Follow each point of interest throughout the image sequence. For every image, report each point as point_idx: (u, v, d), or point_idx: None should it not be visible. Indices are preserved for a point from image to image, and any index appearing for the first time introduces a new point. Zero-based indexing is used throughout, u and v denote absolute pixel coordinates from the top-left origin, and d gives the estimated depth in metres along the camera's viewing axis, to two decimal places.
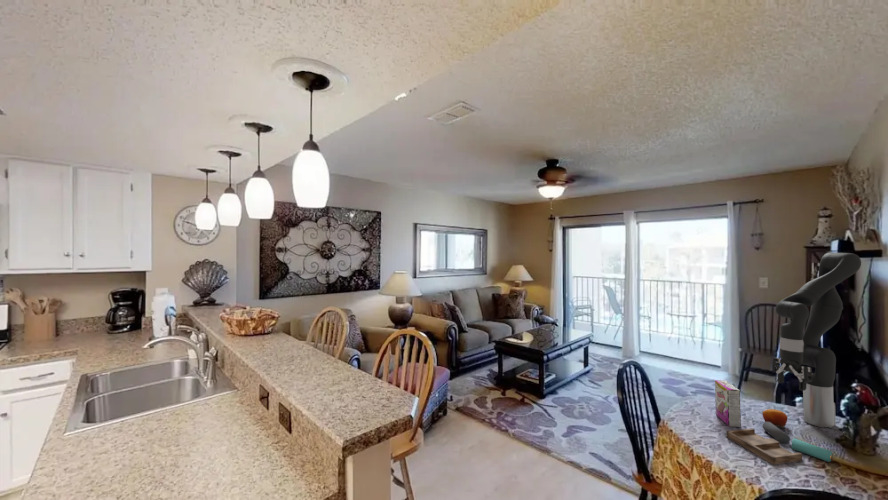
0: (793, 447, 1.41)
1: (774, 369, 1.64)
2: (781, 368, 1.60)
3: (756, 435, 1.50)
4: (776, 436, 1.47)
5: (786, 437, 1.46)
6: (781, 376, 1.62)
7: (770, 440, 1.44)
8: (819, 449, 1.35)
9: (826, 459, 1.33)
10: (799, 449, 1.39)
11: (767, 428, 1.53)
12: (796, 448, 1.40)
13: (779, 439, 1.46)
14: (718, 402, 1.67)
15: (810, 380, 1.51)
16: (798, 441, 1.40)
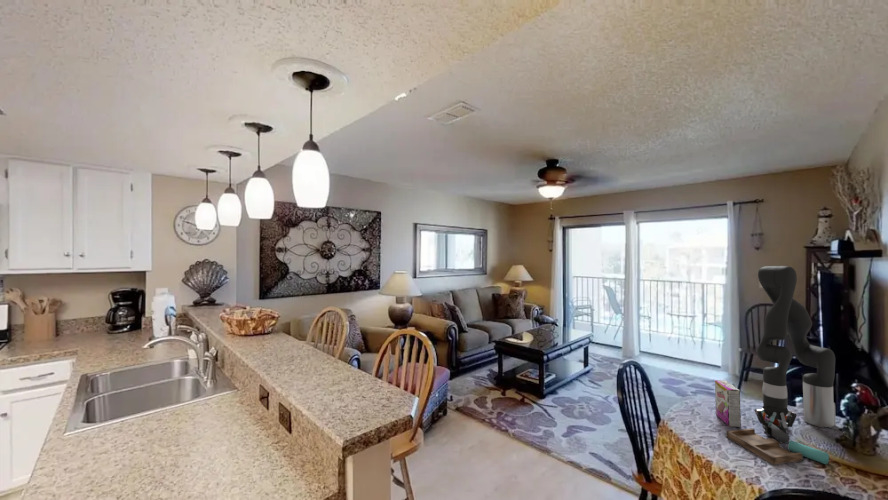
0: None
1: None
2: None
3: (756, 435, 1.50)
4: (776, 436, 1.47)
5: (786, 436, 1.46)
6: (780, 428, 1.50)
7: (770, 440, 1.44)
8: (815, 458, 1.33)
9: None
10: None
11: None
12: None
13: (779, 439, 1.46)
14: (718, 402, 1.67)
15: (761, 422, 1.51)
16: (793, 450, 1.39)
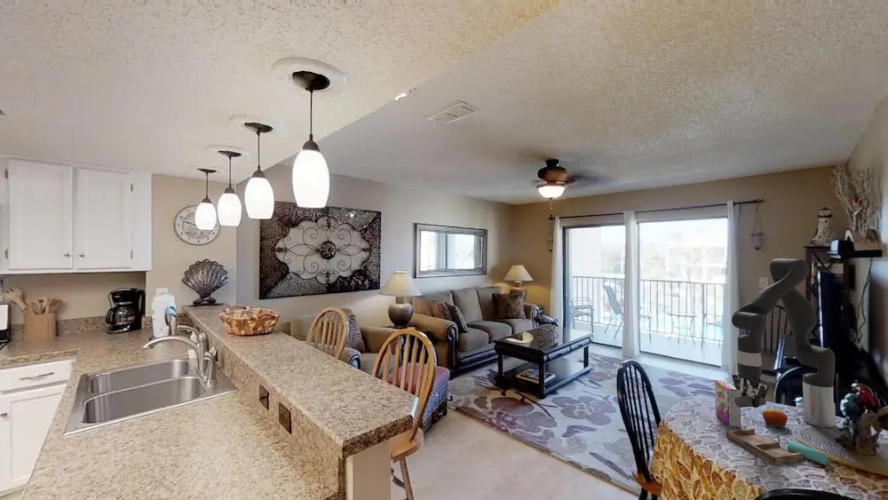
0: None
1: None
2: None
3: (756, 435, 1.50)
4: None
5: (740, 401, 1.46)
6: None
7: (770, 440, 1.44)
8: (815, 460, 1.33)
9: None
10: None
11: None
12: None
13: (735, 401, 1.49)
14: (718, 402, 1.67)
15: None
16: (793, 452, 1.38)
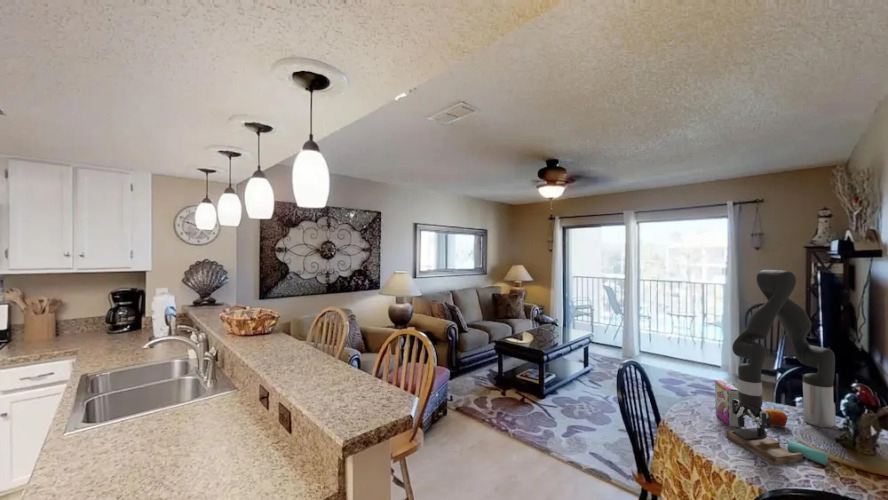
0: None
1: None
2: None
3: None
4: None
5: (741, 434, 1.47)
6: None
7: (770, 440, 1.44)
8: (815, 460, 1.33)
9: None
10: None
11: None
12: None
13: (736, 434, 1.49)
14: (718, 402, 1.67)
15: None
16: (793, 452, 1.38)
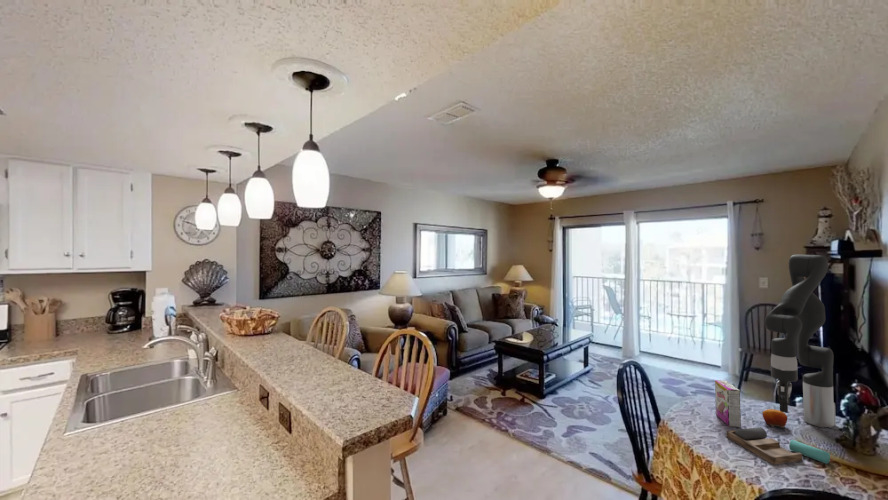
0: None
1: None
2: (789, 393, 1.39)
3: None
4: None
5: (741, 434, 1.47)
6: None
7: (770, 440, 1.44)
8: (816, 456, 1.34)
9: None
10: None
11: None
12: None
13: (736, 434, 1.49)
14: (718, 402, 1.67)
15: None
16: (794, 447, 1.39)
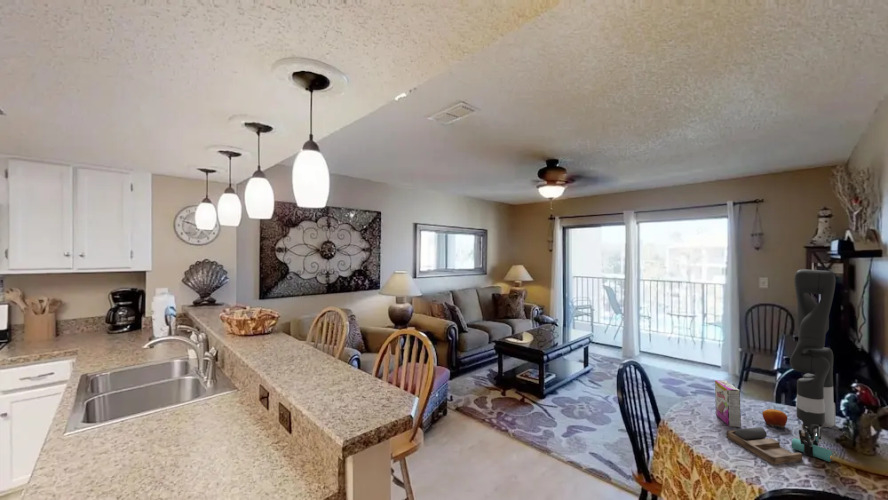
0: (793, 447, 1.41)
1: None
2: (814, 436, 1.35)
3: None
4: None
5: (741, 434, 1.47)
6: None
7: (770, 440, 1.44)
8: (819, 449, 1.35)
9: (826, 459, 1.33)
10: (799, 449, 1.39)
11: None
12: (796, 447, 1.40)
13: (736, 434, 1.49)
14: (718, 402, 1.67)
15: None
16: (798, 441, 1.40)
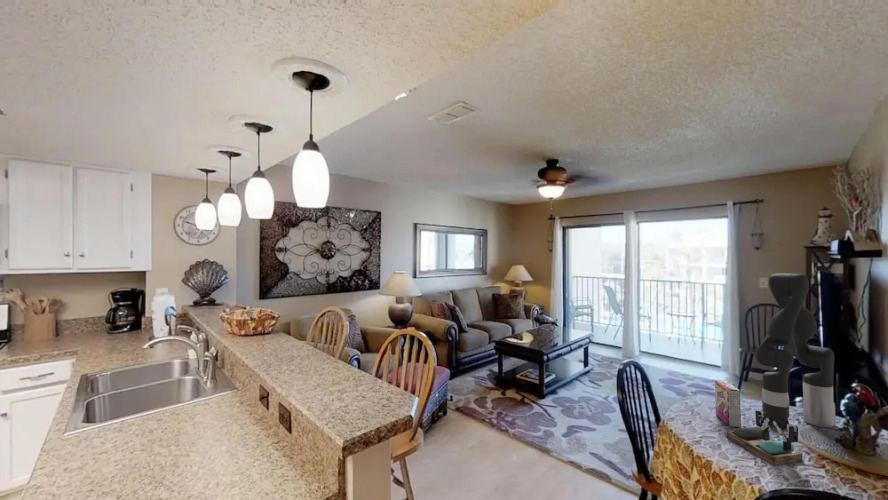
0: (770, 453, 1.36)
1: None
2: None
3: None
4: None
5: (739, 432, 1.48)
6: None
7: (770, 440, 1.44)
8: None
9: (792, 450, 1.37)
10: (775, 452, 1.36)
11: None
12: (773, 452, 1.36)
13: (735, 434, 1.49)
14: (718, 402, 1.67)
15: None
16: (770, 444, 1.37)
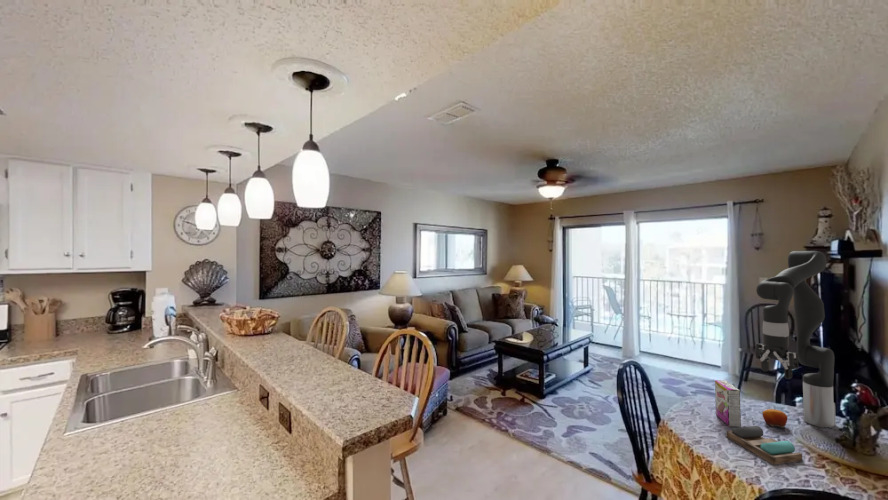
0: (771, 454, 1.36)
1: None
2: None
3: None
4: None
5: (736, 430, 1.49)
6: None
7: (770, 440, 1.44)
8: (787, 445, 1.37)
9: (793, 451, 1.37)
10: (775, 453, 1.36)
11: None
12: (773, 454, 1.36)
13: None
14: (718, 402, 1.67)
15: None
16: (772, 446, 1.36)
